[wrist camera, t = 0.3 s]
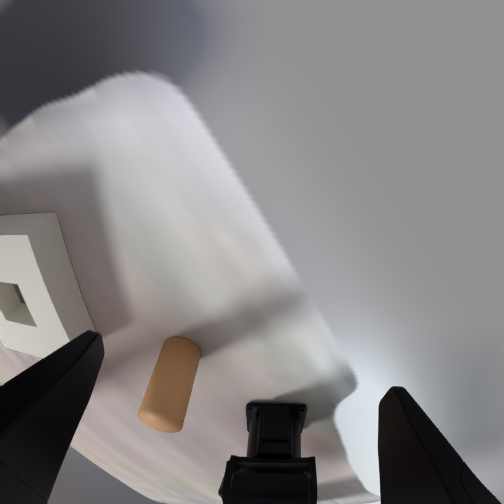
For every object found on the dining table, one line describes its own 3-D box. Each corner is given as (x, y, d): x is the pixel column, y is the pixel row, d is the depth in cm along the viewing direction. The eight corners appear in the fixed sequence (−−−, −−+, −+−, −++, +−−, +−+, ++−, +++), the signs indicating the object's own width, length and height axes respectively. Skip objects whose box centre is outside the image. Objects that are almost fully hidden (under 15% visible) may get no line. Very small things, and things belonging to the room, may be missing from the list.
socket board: (99, 339, 29) (83, 368, 26) (21, 324, 30) (4, 346, 27) (56, 212, 22) (27, 235, 19) (-23, 217, 23) (-48, 235, 20)
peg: (203, 364, 30) (186, 435, 23) (167, 360, 30) (144, 428, 23) (198, 338, 28) (177, 413, 21) (160, 334, 28) (132, 405, 21)
